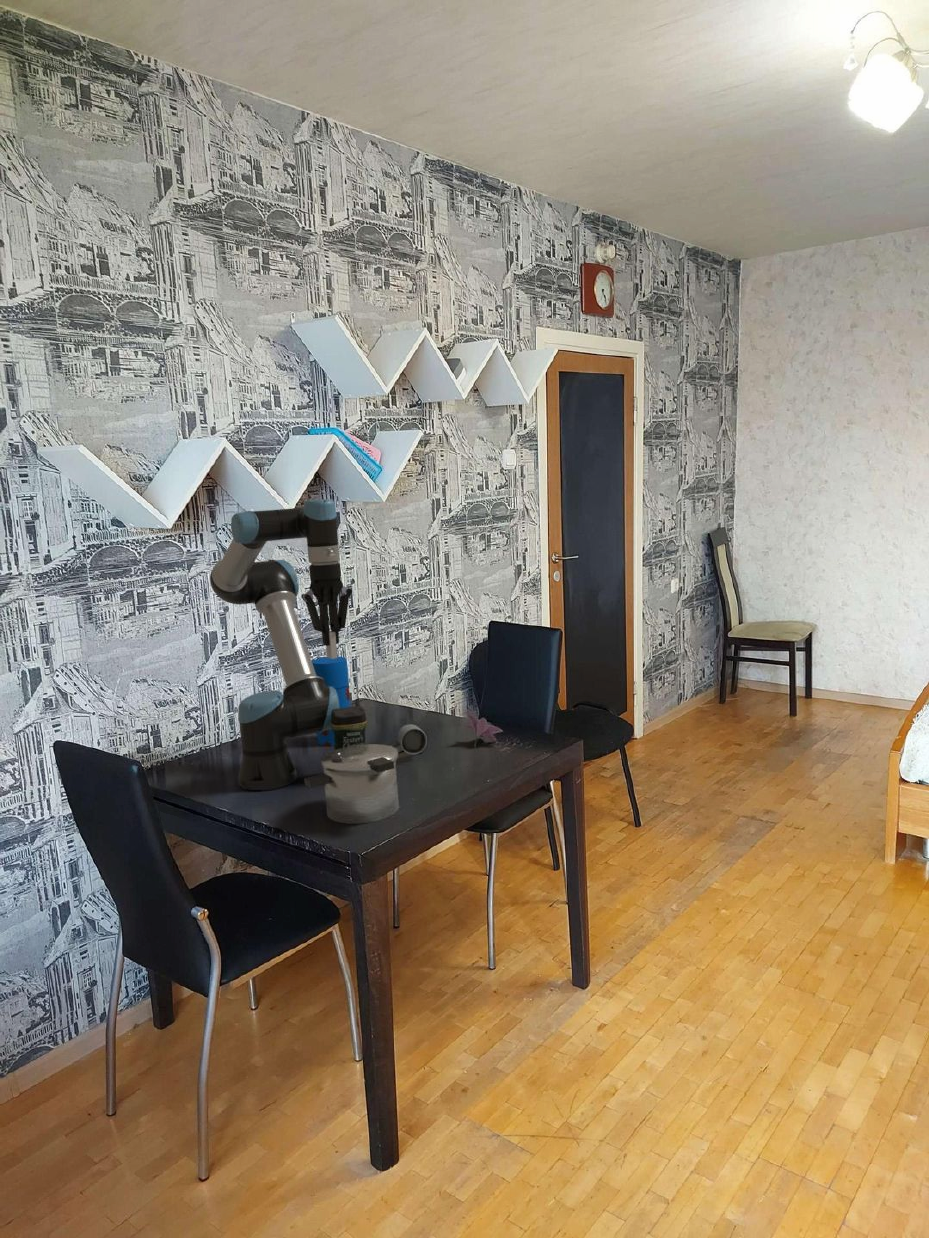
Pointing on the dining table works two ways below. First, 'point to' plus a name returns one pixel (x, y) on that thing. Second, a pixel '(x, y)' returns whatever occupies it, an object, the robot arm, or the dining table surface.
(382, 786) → the steel pot
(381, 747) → the pot lid
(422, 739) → the ceramic mug
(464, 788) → the dining table surface
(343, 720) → the coffee jar
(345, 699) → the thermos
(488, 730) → the lily
